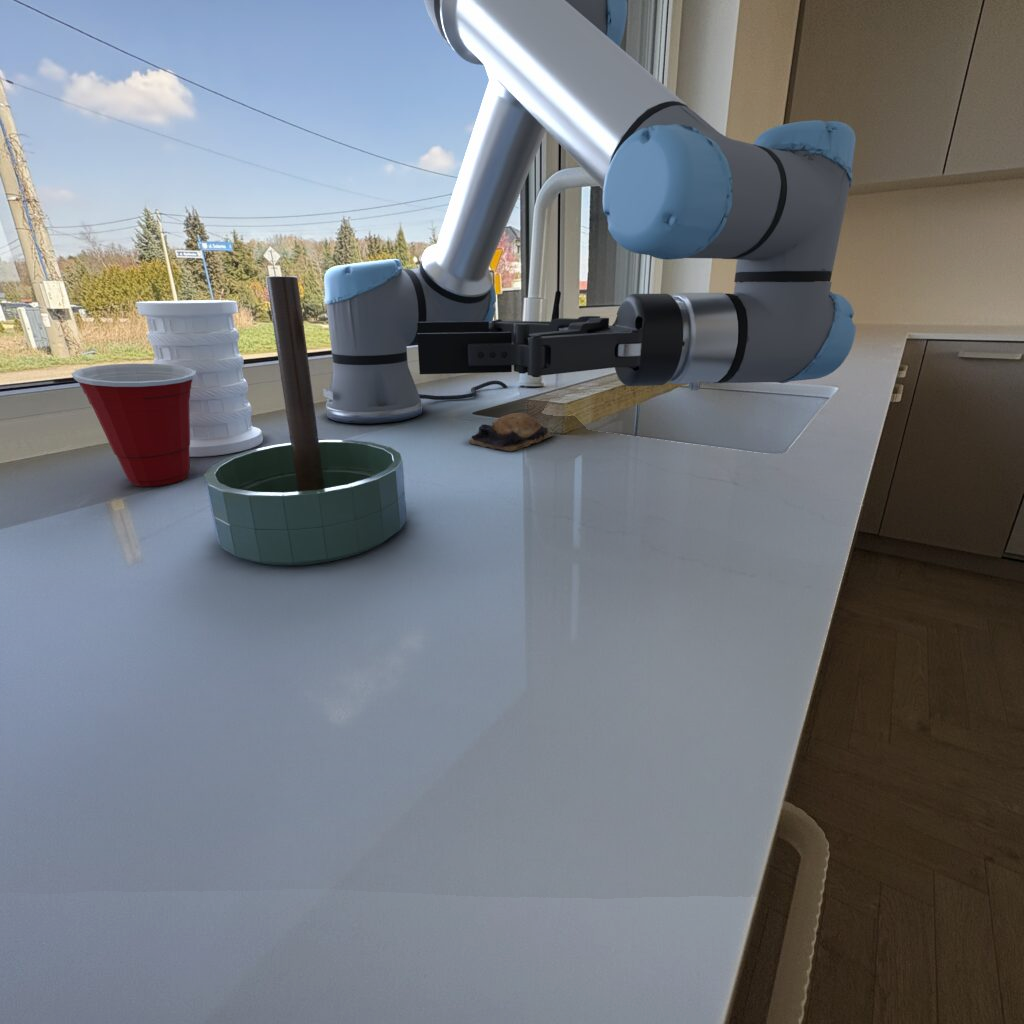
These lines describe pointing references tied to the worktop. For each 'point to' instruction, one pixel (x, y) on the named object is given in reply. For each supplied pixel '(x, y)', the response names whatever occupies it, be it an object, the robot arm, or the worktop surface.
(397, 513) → the bowl
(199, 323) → the decorative container
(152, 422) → the plastic cup
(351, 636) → the worktop surface
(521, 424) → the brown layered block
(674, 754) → the worktop surface
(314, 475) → the stirring stick
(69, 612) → the worktop surface
